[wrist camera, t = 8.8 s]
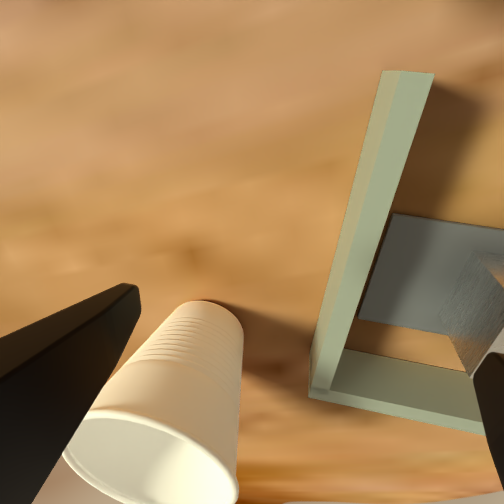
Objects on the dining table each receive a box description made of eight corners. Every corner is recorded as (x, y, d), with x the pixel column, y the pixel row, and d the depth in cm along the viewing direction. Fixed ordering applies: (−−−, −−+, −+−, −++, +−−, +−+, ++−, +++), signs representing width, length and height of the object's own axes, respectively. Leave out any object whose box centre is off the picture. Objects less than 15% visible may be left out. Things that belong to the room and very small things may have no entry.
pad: (392, 213, 18) (393, 215, 18) (600, 243, 17) (605, 246, 17) (357, 315, 22) (357, 318, 22) (523, 346, 21) (525, 349, 21)
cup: (294, 337, 25) (279, 501, 15) (214, 383, 29) (166, 531, 20) (199, 253, 22) (112, 385, 13) (129, 317, 27) (28, 450, 18)
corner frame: (382, 70, 15) (401, 70, 12) (777, 108, 13) (937, 121, 10) (309, 352, 25) (308, 397, 22) (528, 396, 23) (564, 452, 20)
